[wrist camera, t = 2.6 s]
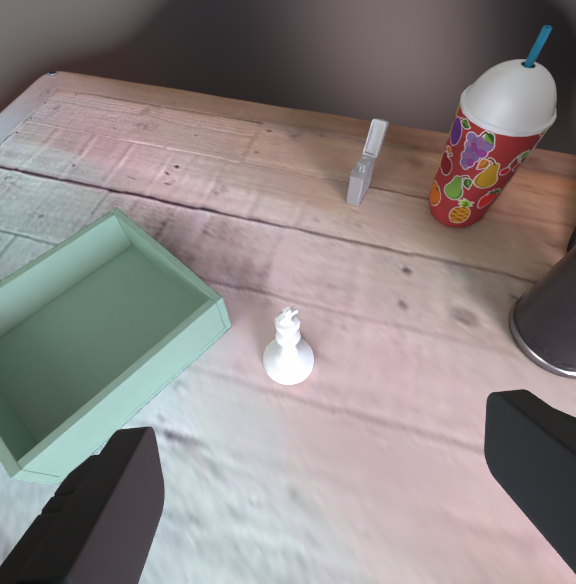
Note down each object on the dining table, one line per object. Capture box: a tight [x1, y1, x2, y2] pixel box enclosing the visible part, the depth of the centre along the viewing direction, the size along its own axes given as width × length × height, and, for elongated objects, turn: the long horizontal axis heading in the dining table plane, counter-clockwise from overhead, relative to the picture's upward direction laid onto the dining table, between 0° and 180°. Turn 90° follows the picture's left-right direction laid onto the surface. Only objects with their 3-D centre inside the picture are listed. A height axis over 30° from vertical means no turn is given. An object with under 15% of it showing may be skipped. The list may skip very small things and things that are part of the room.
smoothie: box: [428, 25, 557, 228], centre depth 37 cm, size 8×8×20 cm
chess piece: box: [263, 306, 314, 385], centre depth 31 cm, size 5×5×10 cm
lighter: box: [346, 118, 389, 206], centre depth 45 cm, size 7×2×8 cm, turn 153°
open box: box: [0, 207, 232, 486], centre depth 34 cm, size 20×17×6 cm
